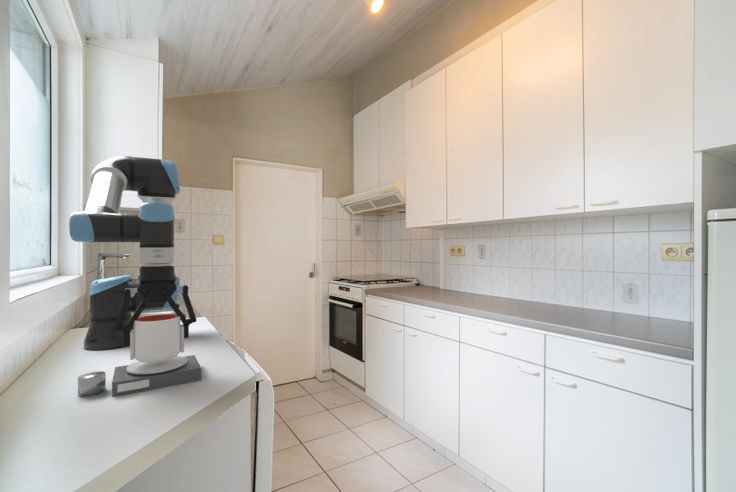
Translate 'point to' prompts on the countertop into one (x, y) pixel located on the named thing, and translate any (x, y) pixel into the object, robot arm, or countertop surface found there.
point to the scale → (155, 374)
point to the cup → (156, 338)
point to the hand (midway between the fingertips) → (157, 354)
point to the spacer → (91, 384)
